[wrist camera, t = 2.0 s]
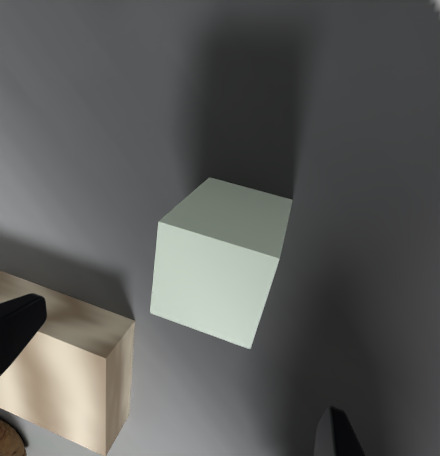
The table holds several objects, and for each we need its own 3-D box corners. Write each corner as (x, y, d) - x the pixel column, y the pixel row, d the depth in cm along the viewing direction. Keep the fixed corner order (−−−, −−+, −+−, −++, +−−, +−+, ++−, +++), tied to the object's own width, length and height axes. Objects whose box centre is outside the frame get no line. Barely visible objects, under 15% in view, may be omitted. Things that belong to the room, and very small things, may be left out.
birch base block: (137, 316, 23) (106, 358, 20) (131, 411, 29) (105, 456, 25) (5, 268, 25) (-45, 298, 22) (23, 365, 31) (-15, 401, 27)
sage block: (292, 199, 16) (279, 258, 10) (270, 270, 18) (250, 349, 13) (209, 177, 16) (158, 221, 11) (197, 247, 18) (149, 312, 13)
